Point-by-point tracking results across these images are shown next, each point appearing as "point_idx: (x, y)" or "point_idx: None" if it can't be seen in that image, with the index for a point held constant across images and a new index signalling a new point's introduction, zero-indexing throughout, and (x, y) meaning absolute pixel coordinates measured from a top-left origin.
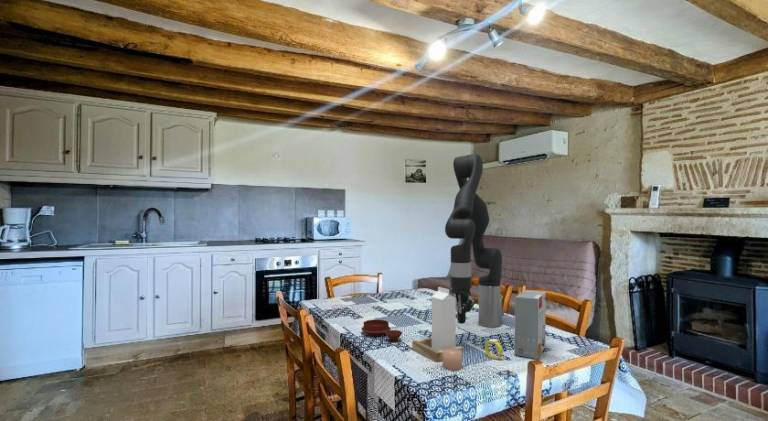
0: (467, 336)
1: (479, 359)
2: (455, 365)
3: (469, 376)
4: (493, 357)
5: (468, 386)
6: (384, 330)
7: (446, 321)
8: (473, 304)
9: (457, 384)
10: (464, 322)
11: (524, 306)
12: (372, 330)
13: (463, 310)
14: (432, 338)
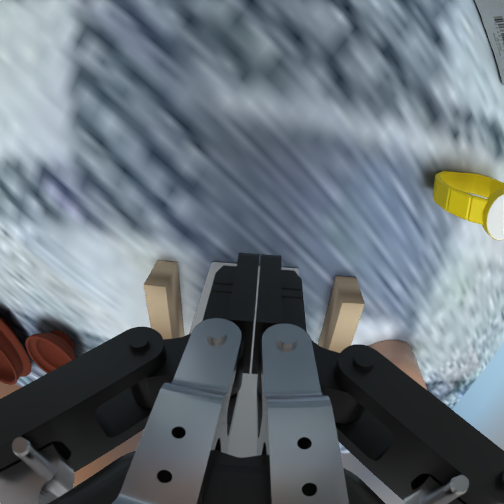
0: (131, 21)
1: (425, 247)
2: None
3: (451, 363)
4: (464, 190)
5: (464, 388)
6: (16, 348)
7: None
8: (478, 448)
9: (441, 400)
10: (279, 261)
11: None
12: (21, 373)
13: (337, 423)
14: None
